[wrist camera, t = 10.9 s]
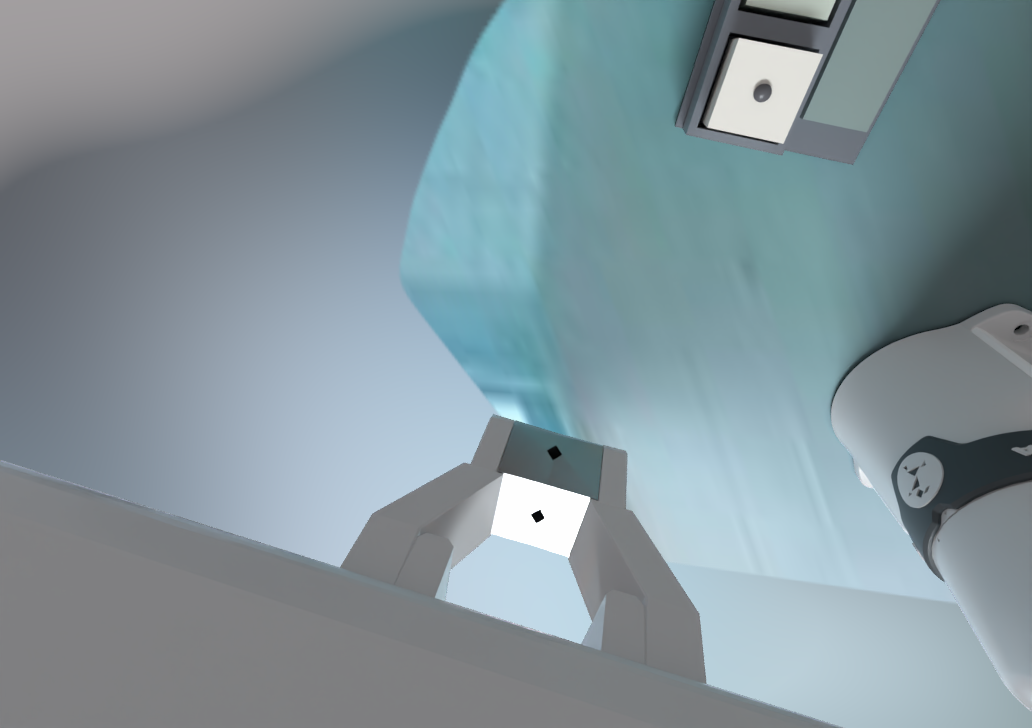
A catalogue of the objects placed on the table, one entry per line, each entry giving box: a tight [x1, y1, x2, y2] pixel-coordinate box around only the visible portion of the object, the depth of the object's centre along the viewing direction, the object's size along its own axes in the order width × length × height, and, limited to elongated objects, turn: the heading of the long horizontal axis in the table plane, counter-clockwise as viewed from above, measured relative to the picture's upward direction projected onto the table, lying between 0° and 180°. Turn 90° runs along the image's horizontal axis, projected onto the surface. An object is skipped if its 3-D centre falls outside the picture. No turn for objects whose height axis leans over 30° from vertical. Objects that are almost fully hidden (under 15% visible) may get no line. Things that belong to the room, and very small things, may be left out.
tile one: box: [702, 38, 823, 144], centre depth 28 cm, size 4×4×4 cm
